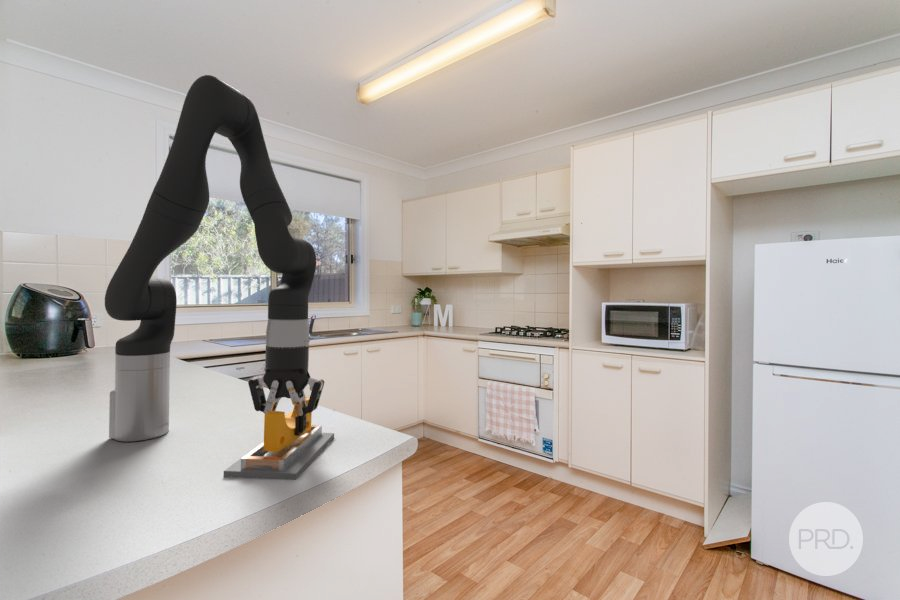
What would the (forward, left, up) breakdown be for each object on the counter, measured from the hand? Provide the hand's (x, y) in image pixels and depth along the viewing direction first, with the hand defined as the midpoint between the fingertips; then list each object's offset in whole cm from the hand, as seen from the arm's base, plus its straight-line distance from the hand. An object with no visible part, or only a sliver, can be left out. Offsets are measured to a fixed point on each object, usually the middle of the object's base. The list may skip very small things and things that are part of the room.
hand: (285, 433), depth 77 cm
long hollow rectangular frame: (0, 0, -4) cm, 4 cm away
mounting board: (0, 0, -4) cm, 4 cm away
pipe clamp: (0, 0, -1) cm, 1 cm away
